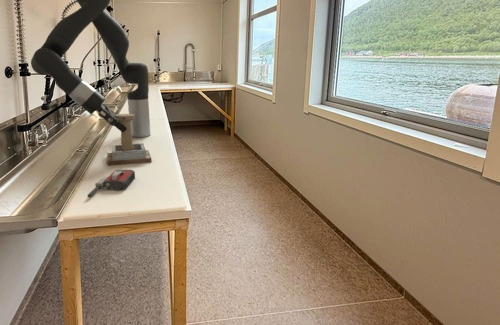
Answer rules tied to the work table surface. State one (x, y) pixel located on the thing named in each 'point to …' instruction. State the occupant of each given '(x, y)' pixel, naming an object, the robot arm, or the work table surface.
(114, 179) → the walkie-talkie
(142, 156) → the collar
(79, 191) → the work table surface
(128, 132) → the handle
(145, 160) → the board
